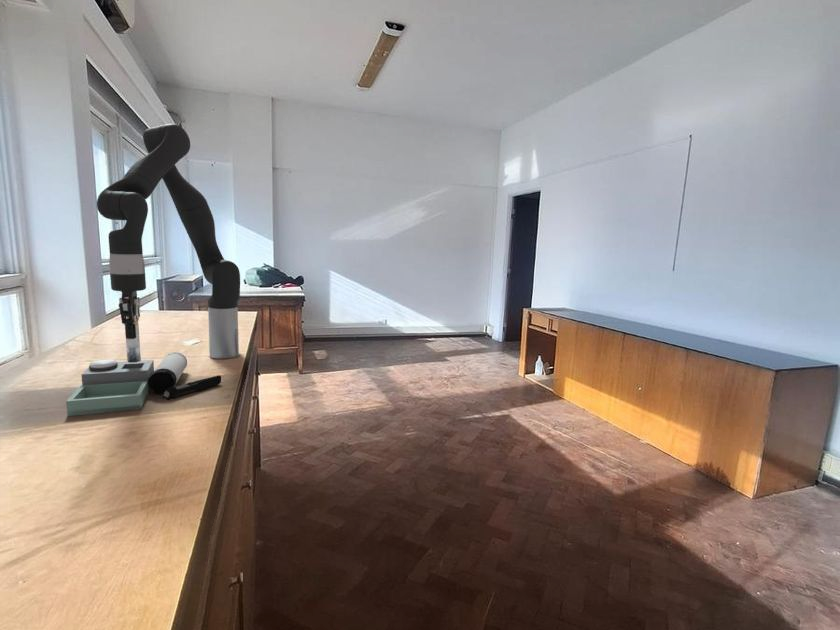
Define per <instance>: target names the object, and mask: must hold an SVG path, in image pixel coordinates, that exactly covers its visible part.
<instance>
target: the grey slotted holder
mask: <svg viewBox="0 0 840 630" xmlns="http://www.w3.org/2000/svg"><path fill="white" fill-rule="evenodd" d="M154 361H155V360H154V359H148V360H141V361H139V362H134V363H130V362H127V360H126V361H117V360H116V359H100V360H99V359H98V360H95V361H92V362H90V363H89V366H88V367H87V368H86V369H85V371H83V372H82V373H81V375H80V376H81V383H82V384H81V385H94V384H108V383H122V382H136V381H148V379H149V377H150V376H151V375H152V373H153V372H154V371H155V363H154ZM150 390H151V389H150V388H149V386H148V393H150Z"/></svg>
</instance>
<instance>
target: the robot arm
mask: <svg viewBox="0 0 840 630" xmlns="http://www.w3.org/2000/svg"><path fill="white" fill-rule="evenodd" d="M142 139H143V144H144V147H145V150H146V151H147V153H148V154H146V155H144V156H143V157H142V158H140V159H139V160H137V161H136V162H135V163H133V165H131V167H130V168H129V169H128V170H127V172H126V173H125V174H124V176H123V177H122V178H121V179H119V180H117V181H115V182H113V183H112V184H110V185H109V186H108V187H106V188H105V189H103V190H102V191H101V192H100V193H99V195H98V197H97V200H96V208H97V211H98V213H99V214H100V215H101V216H102V218H103V217H104V218H105V219H107V220H113V221H126V222H125V224H124V225H123V228H121V229H113V230H111V231H109V233H108V250H109V259H108V261H109V262H108V263H109V276H110V277H109V280H110V289H111V290H112V291H114V292H121V296H120V297H119V301H118V302H119V303H118V307H119V312H120V313H119V314H120V318H121V324H122V325H124V332H125V333H126V335H125V339H126V338H127V339H135V338H136V319H138V322H139V321H140V318H141V314H140V313H141V297H140V296H138V292H140V291H144V290H146V289H147V280H146V266H145V265H146V264H145V259H144V253H143V242H142V241H143V234H144V231H145V225H146V221H147V217H148V213H149V205H148V202H147V199H148V198H149V197H150V196H151V195H152V194H153V192H154V190H155V189H156V187H158V184H159V183H160V182H161V180H163V182H164V185H165V187H166V189H167V191H168V193H169V194H170V195H169V196H170V198H171V200H172V202H173V205H174V206H175V210H176V211H177V214H178V216H179V219H180V220H181V222H182V225H183V227H184V229H185V231H186V234H187V235H188V238H189V240H190V242H191V244H192V246H193V248H194V251H195V253H196V255H197V258H198V261H199V265H200V268H201V271H202V274H203V277H204V279H205V281H207V282H208V283H209V284H211V287H212V288H211V295H210V297H209V298H208V300H207V313H208V344H209V345H208V346H209V357H210V358H212V359H219V360H220V359H222V360H223V359H224V360H225V359H232V358H235V357H237V358H238V357H239V356H240V355H239V354H240V352H239V351H240V349H239V348H240V347H239V343H240V342H239V313H238V312H239V311H238V309H239V308H238V304H239V300H240V297H241V272H240V269H239V267H238V266H237V265H236V263H235V262H232V261H231V260H226V259H225V258H224V256H223V254H222V252H221V250H220V248H219V245H218V242H217V238H216V225H215V220H214V215H213V214H212V211H211V208H210V206H209V203H208V201H207V199H206V198H205V196H204V195H203V194H202V193H201V192H200V191H199V190H198V189H197V188H195V186H194V185H192V184H191V183H190V182H189V181H188V180H187V179H186V178H185V177H183V176H182V175H181V173H180V171H179V169H178V167H177V166H176V164H177V163H179V161H181V160H182V159H183V158H184V157H185V156H186V155H188V154H189V152H190V149H191V141H190V140H191V139H190V137H189V135H188V133H187V131H186V130H185V129H184V127H182V126H181V125H179V124H177V123H166V124H162V125H157V126H154V127H149V128H147V129H145V130H144V131H143V133H142ZM125 333H124V334H125Z"/></svg>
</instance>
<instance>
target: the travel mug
mask: <svg viewBox="0 0 840 630" xmlns="http://www.w3.org/2000/svg"><path fill="white" fill-rule="evenodd" d="M187 366H188V359H187V357H186V356H185V355H184V354H182V353H181V352H177V351H176V352H171V353H168V354H167V355H166V356H165V357H164V358H163V359H162V360H161V362H160V363H159V364H158V365H157V367H156V368H155V369H154V372H153V373H152V375H151V376H150V377H149V379H148V386H149V388H150V390H151V391H152V392H154V393H156V394H160V395H162V394H163V392H164V391H165V389H166V388H170V387H171V386H175V387H176V384H177V383H178V381H179V379H180V378H181V376H182V374H183V372H184V371H185V370H186V368H187Z"/></svg>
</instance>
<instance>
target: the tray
mask: <svg viewBox="0 0 840 630" xmlns="http://www.w3.org/2000/svg"><path fill="white" fill-rule="evenodd" d="M148 395H149V392H148V381H136V382H122V383H108V384H94V385H82V384H81V385H80V386H79V387H78V388H77V389H76V390H75V391H74V392H73V394H72V395H71V396H70V397H68V398H67V400H65V402H66V405H65V406H66V415H67V417H71V416H72V417H73V416H82V415H93V414H94V415H95V414H103V413H114V412H125V411H137V410H142V408H143V406H144V404H145V401H146V399H147V397H148Z"/></svg>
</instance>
